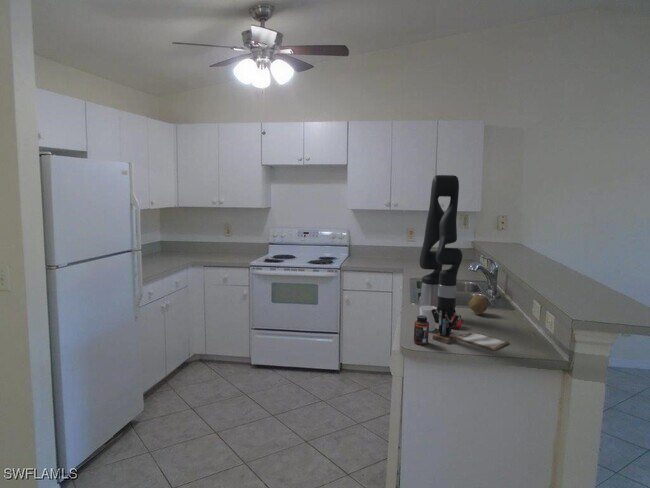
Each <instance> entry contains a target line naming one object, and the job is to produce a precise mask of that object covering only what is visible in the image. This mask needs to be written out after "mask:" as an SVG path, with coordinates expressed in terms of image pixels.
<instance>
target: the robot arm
mask: <svg viewBox="0 0 650 488" xmlns="http://www.w3.org/2000/svg"><path fill="white" fill-rule="evenodd" d="M431 181H432V182H431V188H430V189H431V190H430V201H429V208H428V213H427V218H426V222H425V231H424V238H423V242H422V247H421V251H420V257H419V266H420V269H423V270H431V271H432V270H433V271H432V272H431V273H429V274H426V275H423V276H422V278H421V292H420V296H419V298H418V316H419V315H420V306H434V307H436V308H437V309H432V310H431V311H432V314H433V317H434V320H435V323H436V324H438V333H440V334H442V320H443V319H444V318H445V321H446V336H449V335H450V334H451V335H452V328H455V327H457V326H456V325H457V323H458V321H459V320H460V318H461V319H462V315H461V314H459V313H457V312H456V311H457V310H456V307H457V306H456V305H457V281H458V279H457V277H458V272H459V269H460V266H461V264H462V261H463V251H462V250H461V249H460V248H458V247H457V248H456V247H446V246H447V245H451V244H454V243H456V242H457V240H458V232H457V229H458V228H457V218H458V217H457V216H458V214H457V213H458V205H459V194H460V181H459V178H458V176H457V175H453V174H436V175H434V176H433V178H432V180H431ZM439 197H447V198H448V197H449V198H450V199H449V200H450V201H449V204H448V206H447V209H446V210H445V211H444V210H443V209H442V207H441V204H440V202H439ZM437 243H438V247H437V250H432V249H433V247H434V245H436V244H437ZM447 265H448V266H450V267H449V268H447V269H443V266H447ZM453 316H454V320H453V318H452V317H453ZM452 321H453V322H452Z"/></svg>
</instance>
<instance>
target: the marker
mask: <svg viewBox="0 0 650 488" xmlns="http://www.w3.org/2000/svg"><path fill="white" fill-rule="evenodd" d="M442 336H443V337H448V336H446V321H445V318H444V319H443V320H442Z"/></svg>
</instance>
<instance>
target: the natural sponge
mask: <svg viewBox="0 0 650 488" xmlns="http://www.w3.org/2000/svg"><path fill="white" fill-rule="evenodd" d="M468 308H469V309H470V310H472V311H473V313H475V314H476V315H478V316H480V315H482V314H483V313H484V312H486V311H487V309H488V301H487V299H486V298H485V297H484V296H482V295H479V294H478V295H475V296H473V297H472V298H471V299H470V301H468Z"/></svg>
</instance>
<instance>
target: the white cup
mask: <svg viewBox="0 0 650 488" xmlns="http://www.w3.org/2000/svg"><path fill="white" fill-rule="evenodd" d="M432 309H437V308H436V307H434V306H420V315H423V316H427V322H429V332H434V331H435V330H436V325H437V323H435V320H434V317H433V314H432V311H431V310H432Z"/></svg>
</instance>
